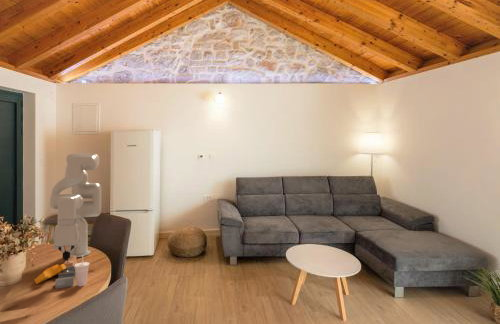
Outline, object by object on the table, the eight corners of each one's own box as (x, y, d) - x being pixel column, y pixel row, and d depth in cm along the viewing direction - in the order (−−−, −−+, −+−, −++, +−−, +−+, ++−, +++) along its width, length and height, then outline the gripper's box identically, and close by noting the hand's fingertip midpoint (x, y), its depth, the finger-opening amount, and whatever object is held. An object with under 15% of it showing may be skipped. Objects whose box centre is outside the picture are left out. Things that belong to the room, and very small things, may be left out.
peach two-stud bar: (68, 265, 168) (68, 255, 167) (76, 264, 169) (76, 254, 169) (63, 273, 156) (63, 262, 156) (72, 272, 158) (72, 262, 158)
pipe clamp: (53, 267, 155) (62, 260, 154) (57, 274, 154) (66, 267, 153) (32, 276, 143) (41, 269, 142) (36, 284, 143) (46, 277, 141)
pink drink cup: (78, 288, 139) (78, 258, 138) (71, 285, 142) (71, 255, 142) (92, 283, 144) (92, 254, 144) (84, 280, 148) (84, 252, 147)
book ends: (59, 275, 153) (60, 267, 153) (75, 273, 156) (75, 265, 156) (55, 288, 138) (55, 280, 138) (73, 286, 141) (73, 277, 141)
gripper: (84, 219, 153) (84, 255, 153) (49, 221, 147) (49, 259, 147) (83, 222, 146) (83, 260, 147) (47, 224, 140) (46, 264, 140)
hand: (66, 259), depth 147 cm, fingers closed
